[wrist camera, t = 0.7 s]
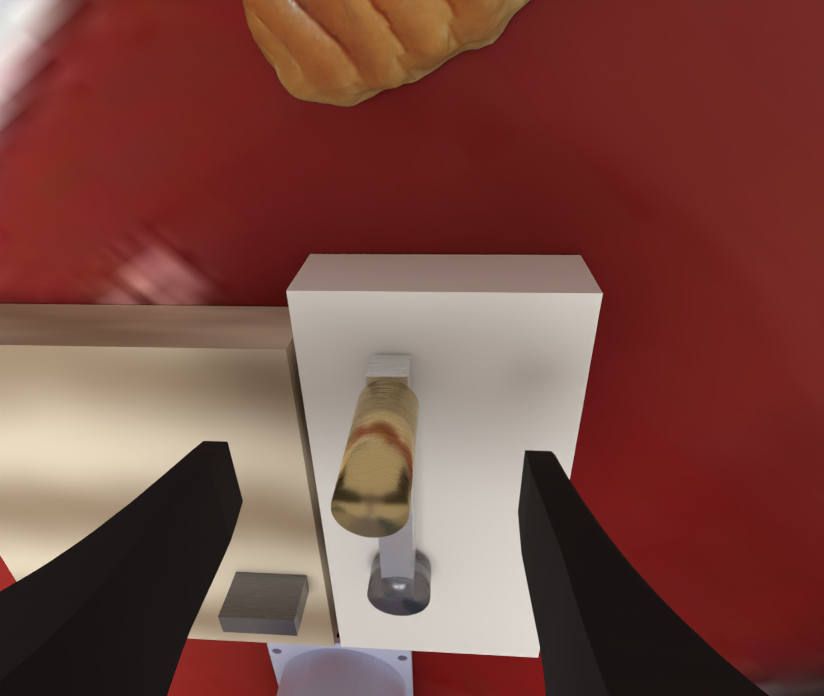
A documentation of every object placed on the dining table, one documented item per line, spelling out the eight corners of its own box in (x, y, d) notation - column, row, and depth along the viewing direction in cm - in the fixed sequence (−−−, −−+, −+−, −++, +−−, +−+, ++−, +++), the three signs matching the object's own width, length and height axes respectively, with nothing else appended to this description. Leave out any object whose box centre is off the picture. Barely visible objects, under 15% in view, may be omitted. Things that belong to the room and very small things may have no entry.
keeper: (309, 590, 22) (297, 635, 21) (240, 586, 23) (223, 631, 21) (306, 574, 22) (294, 620, 20) (236, 571, 22) (217, 616, 20)
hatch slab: (346, 588, 27) (334, 646, 25) (84, 576, 28) (47, 630, 25) (308, 306, 19) (285, 349, 16) (-58, 303, 20) (-134, 342, 17)
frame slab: (529, 596, 26) (538, 657, 24) (351, 588, 27) (341, 646, 25) (580, 255, 17) (602, 293, 15) (310, 253, 18) (285, 290, 15)
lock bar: (431, 589, 22) (425, 733, 17) (373, 587, 22) (352, 729, 17) (430, 355, 16) (422, 480, 11) (351, 354, 16) (312, 476, 12)
